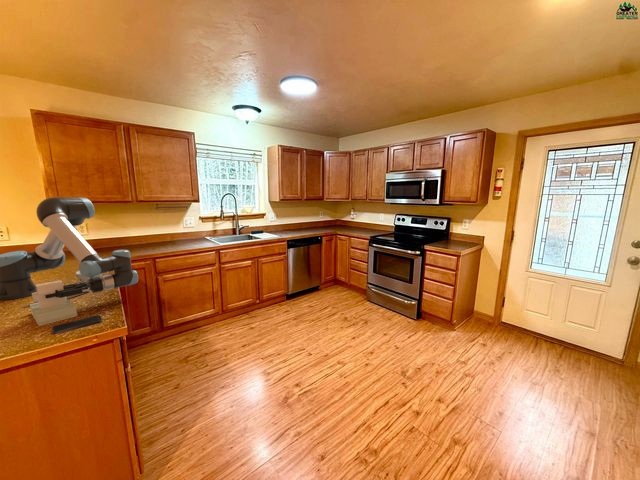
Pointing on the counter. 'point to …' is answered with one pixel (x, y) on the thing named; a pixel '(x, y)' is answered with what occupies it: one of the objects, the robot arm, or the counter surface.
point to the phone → (76, 324)
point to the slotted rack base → (53, 313)
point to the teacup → (86, 279)
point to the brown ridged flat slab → (67, 298)
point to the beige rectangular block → (50, 288)
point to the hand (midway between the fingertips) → (33, 297)
